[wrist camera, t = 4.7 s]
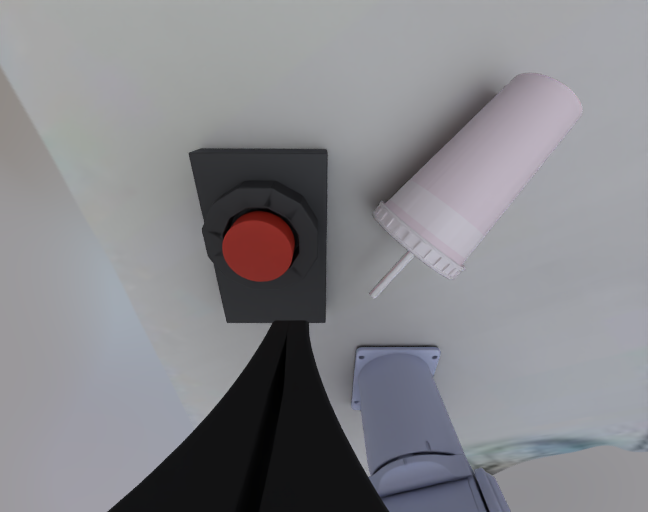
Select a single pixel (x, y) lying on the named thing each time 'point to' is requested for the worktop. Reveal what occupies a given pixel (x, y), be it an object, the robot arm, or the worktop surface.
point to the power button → (259, 246)
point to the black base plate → (279, 199)
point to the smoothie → (477, 175)
